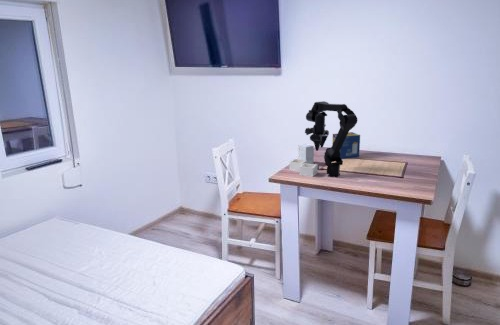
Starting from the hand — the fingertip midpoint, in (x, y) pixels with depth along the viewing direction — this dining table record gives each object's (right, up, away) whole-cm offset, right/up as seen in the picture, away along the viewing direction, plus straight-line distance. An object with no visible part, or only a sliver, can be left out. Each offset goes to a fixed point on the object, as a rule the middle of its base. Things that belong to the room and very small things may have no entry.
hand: (319, 149), depth 222 cm
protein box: (+24, -4, +33) cm, 41 cm away
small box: (-6, -10, +14) cm, 18 cm away
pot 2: (-8, -16, -7) cm, 19 cm away
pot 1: (-12, -13, +3) cm, 18 cm away
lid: (-2, -14, +2) cm, 14 cm away
